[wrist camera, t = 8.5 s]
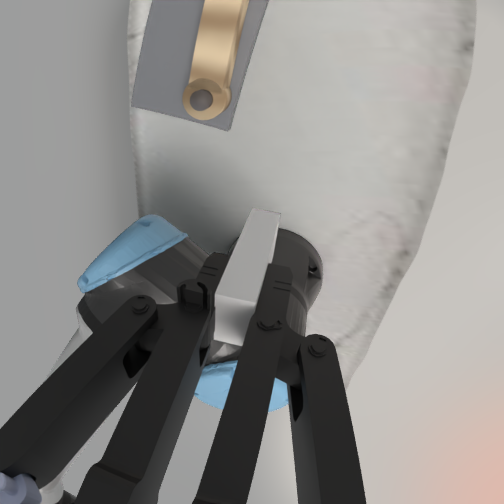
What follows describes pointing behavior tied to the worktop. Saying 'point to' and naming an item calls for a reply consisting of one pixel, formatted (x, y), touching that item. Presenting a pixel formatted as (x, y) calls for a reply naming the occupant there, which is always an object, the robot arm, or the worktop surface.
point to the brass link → (214, 58)
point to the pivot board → (185, 58)
